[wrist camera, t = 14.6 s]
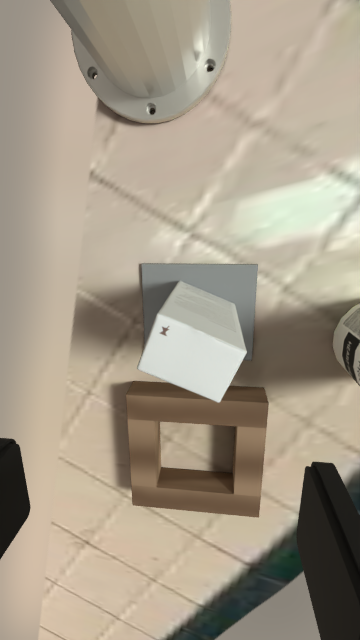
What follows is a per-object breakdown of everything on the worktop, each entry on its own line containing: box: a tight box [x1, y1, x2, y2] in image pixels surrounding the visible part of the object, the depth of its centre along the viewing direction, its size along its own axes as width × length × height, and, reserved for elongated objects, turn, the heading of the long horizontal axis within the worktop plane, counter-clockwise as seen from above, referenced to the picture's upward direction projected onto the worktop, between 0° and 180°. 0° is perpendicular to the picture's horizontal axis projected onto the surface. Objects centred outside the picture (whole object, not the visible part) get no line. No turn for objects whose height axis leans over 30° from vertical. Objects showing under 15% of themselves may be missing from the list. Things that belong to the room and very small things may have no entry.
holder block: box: [126, 381, 268, 517], centre depth 34 cm, size 14×14×3 cm
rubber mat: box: [142, 264, 258, 361], centre depth 31 cm, size 10×11×1 cm
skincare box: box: [137, 281, 247, 403], centre depth 25 cm, size 6×4×12 cm
